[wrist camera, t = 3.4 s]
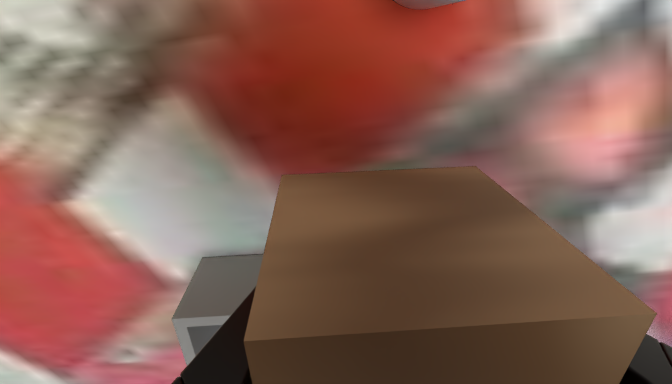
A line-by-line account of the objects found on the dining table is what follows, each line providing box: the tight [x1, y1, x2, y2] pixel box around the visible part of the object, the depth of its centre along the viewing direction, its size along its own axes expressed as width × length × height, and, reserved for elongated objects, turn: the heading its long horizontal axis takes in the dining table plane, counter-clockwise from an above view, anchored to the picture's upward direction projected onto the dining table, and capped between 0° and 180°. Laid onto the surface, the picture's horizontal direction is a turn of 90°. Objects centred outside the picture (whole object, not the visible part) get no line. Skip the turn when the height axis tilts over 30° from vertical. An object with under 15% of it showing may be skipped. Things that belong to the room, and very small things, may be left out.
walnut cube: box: [244, 166, 657, 384], centre depth 7 cm, size 5×5×5 cm
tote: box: [172, 254, 264, 365], centre depth 22 cm, size 17×13×5 cm
